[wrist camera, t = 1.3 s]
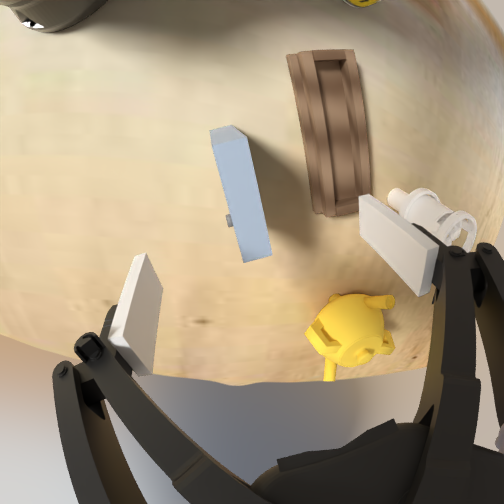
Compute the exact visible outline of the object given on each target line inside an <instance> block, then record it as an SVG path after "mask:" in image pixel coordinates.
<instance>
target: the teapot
mask: <svg viewBox="0 0 504 504" xmlns="http://www.w3.org/2000/svg"><path fill="white" fill-rule="evenodd" d="M394 305H395V298H394V296H393V295H382V296H368V295H365V294H348V295H344V296H340V294H334V295H332V296H331V297H330V298H329V303H328V304H327V305H326V306H325V307H324V308H323V309H322V310H321V311H320V312H319V314H318V315H317V317H316V319H315V321H314V322H313V323H312V324H311V325H310V327H309V328H308V329H307V331H306V332H305V333H304V334H305V336H306V337H307V338H308V340H309V341H310V342H311V344H312V345H313V346H314V347H315V349H316V350H317V351H318V353H319V354H320V355H323V356H324V357H325V370H324V380H323V381H335V376H336V367H337V364H338V365H341V366H344V367H355V366H358V365H363V364H366V363H367V362H369V361H370V360H371V359H372V357H374V356H375V355H376V354H386V355H390V354H391V353H392V352H393V350H394V349H395V346H394V343H393V339H392V336H391V333H390V332H389V331H387V330H385V329H384V319H383V314H382V311H381V309H392V308H393V307H394Z"/></svg>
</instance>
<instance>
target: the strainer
mask: <svg viewBox="0 0 504 504" xmlns="http://www.w3.org/2000/svg"><path fill="white" fill-rule="evenodd" d="M426 194H429V195H430V196H431V197H430V196H428V195H426ZM387 201H388V204H389V206H391V207H392V208H394V209H395V210H397V211H398V212H399V215H400V216H401V217H403V218H404V219H405V220H407V221H408V222H409V223H411V224H412V223H415V224H417V225H420V226H422V227H423V228H425V229H426V230H427V231H428V232H430V233H431V234H432V235H434V236H435V237H436V238H438V239H439V240H440V241H441V242H443V243H444V244H445V245H446V246H451V244H452V241H454V240H456V238H459V235H460V232H461V228H463V229H464V230H465V231H467V232H468V235H467V238H466V241H465V243H464V245H463V247H462V248H463V249H464V250H465V251H466V252H467V253H469V252H470V250H471V248H472V246H473V244H474V241H475V238H476V233H477V224H476V220H475V218H474V217H473V216H471V215H470V214H468V213H467V212H465V211H462V210H460V211H456V212H454V211H452V210H451V209H449V208H448V207H446V206H445V205H443V204H441V203H440V200H439V198H438V196H437V195H436V194H435V193H434V192H432V191H430V190H429V189H427V188H418V189H416V190H414V191H412V192H411V193H410V194H408V193H406V192H404V191H403V190H401V189H399V188H394V189H392V190H391V191H390V193H389V195H388V198H387ZM465 219H467V220H468V221H467V220H465ZM448 234H449V235H448ZM447 235H448V237H447ZM446 237H447V238H446Z"/></svg>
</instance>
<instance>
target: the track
mask: <svg viewBox="0 0 504 504" xmlns="http://www.w3.org/2000/svg"><path fill="white" fill-rule="evenodd" d="M286 58H287V62H288V67H289V71H290V76H291V80H292V85H293V90H294V95H295V100H296V105H297V110H298V115H299V121H300V126H301V132H302V138H303V144H304V150H305V156H306V162H307V169H308V176H309V183H310V190H311V198H312V206H313V211H314V213H315V214H318V213H323V214H324V215H325V216H326V217H331V216H335V215H336V216H341V215H345V214H349V213H353V212H357V211H359V196H362V195H366V194H370V195H371V185H370V165H369V151H368V140H367V130H366V121H365V113H364V105H363V98H362V92H361V85H360V79H359V74H358V68H357V63H356V58H355V53H354V50H346V49H341V50H313V51H303V52H299V53H297V54H289V55H287V56H286Z"/></svg>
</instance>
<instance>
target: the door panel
mask: <svg viewBox="0 0 504 504" xmlns="http://www.w3.org/2000/svg"><path fill="white" fill-rule="evenodd" d="M210 136H211V143H212V148H213V152H214V156H215V160H216V163H217V167H218V171H219V174H220V178H221V182H222V186H223V189H224V193H225V197H226V200H227V204H228V208H229V211H230V214H229V215H226V220H227V223H228V227H232V226H234V230H235V233H236V237H237V240H238V244H239V248H240V251H241V255H242V258H243V262H244V263H245V262H249V261H253V260H257V259H260V258H264V257H268V256H271V255H272V250H271V245H270V240H269V236H268V231H267V226H266V221H265V217H264V212H263V207H262V203H261V198H260V194H259V189H258V184H257V180H256V175H255V171H254V166H253V162H252V157H251V153H250V149H249V144H248V140H247V137H246V136H245V135H244V134H242V133H241V132H240V131H239V130H237V129H236V128H235V127H234V126H232V125H229V126H225V127H221V128H217V129H213V130H210Z"/></svg>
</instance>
